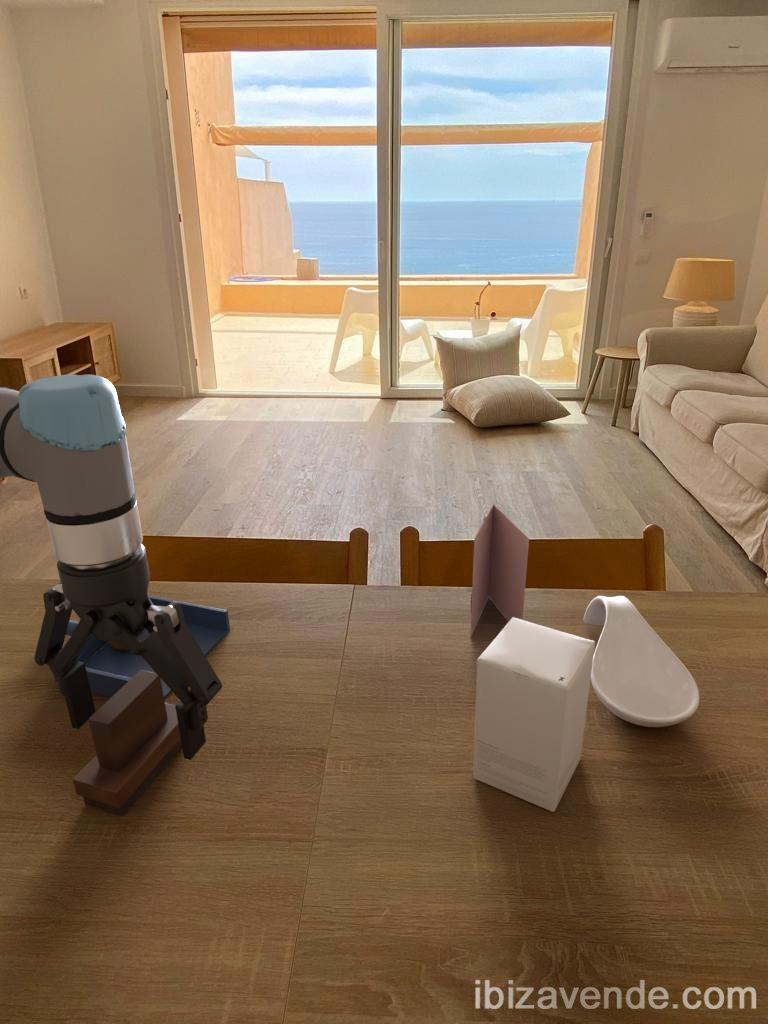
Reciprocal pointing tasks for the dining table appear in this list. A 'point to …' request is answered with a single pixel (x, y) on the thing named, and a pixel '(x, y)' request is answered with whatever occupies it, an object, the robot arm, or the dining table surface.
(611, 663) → the spoon rest
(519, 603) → the greeting card
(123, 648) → the cork ball
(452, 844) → the dining table surface
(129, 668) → the dustpan
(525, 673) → the white product box
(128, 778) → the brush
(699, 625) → the dining table surface
